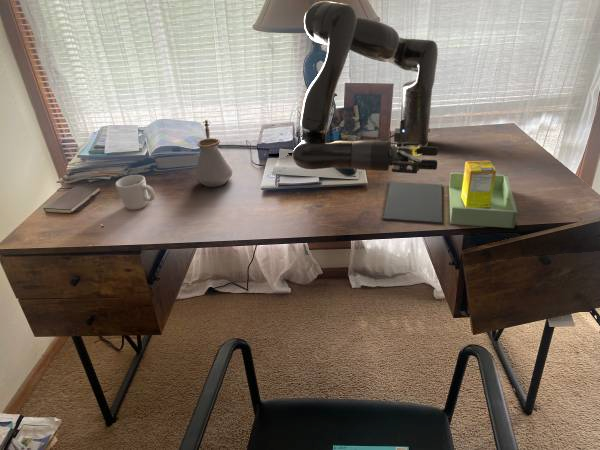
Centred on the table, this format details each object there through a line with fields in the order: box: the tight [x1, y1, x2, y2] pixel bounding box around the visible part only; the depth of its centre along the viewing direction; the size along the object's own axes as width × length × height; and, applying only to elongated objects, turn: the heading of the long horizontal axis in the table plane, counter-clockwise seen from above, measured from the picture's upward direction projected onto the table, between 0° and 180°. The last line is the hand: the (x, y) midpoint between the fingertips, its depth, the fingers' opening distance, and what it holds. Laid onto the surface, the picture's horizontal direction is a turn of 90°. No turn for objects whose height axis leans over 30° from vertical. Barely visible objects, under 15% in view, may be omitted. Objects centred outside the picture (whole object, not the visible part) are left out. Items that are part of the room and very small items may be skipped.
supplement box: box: [461, 160, 497, 209], centre depth 108 cm, size 6×6×11 cm
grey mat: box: [382, 182, 443, 224], centre depth 115 cm, size 14×20×1 cm
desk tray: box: [448, 172, 518, 229], centre depth 110 cm, size 14×20×4 cm
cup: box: [114, 174, 156, 211], centre depth 123 cm, size 11×8×8 cm
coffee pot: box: [194, 119, 234, 188], centre depth 136 cm, size 21×12×15 cm, turn 11°
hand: (437, 157), depth 107 cm, fingers open, 8 cm apart
